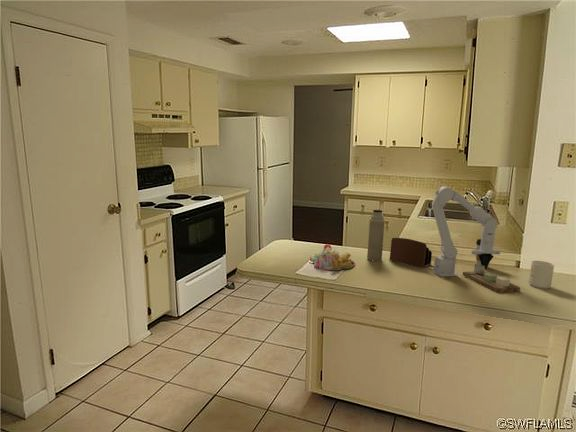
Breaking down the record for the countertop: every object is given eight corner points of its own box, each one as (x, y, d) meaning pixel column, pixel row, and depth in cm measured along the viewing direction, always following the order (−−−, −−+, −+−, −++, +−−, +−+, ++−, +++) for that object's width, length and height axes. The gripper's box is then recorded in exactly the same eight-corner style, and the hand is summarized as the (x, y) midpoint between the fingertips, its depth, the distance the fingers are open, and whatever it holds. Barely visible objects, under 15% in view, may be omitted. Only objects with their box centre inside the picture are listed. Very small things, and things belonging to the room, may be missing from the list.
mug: (554, 290, 182) (558, 266, 180) (534, 288, 183) (537, 265, 181) (540, 281, 194) (543, 259, 192) (521, 280, 194) (524, 258, 193)
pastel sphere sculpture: (362, 265, 212) (363, 248, 210) (337, 274, 195) (338, 256, 193) (324, 256, 228) (325, 240, 227) (298, 263, 211) (299, 246, 209)
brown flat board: (496, 292, 176) (497, 288, 175) (462, 275, 199) (463, 271, 198) (519, 291, 178) (520, 286, 178) (483, 274, 201) (484, 270, 201)
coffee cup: (492, 269, 211) (496, 242, 208) (475, 268, 212) (478, 240, 210) (488, 265, 219) (491, 238, 216) (471, 264, 221) (474, 237, 218)
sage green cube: (489, 283, 186) (489, 276, 185) (483, 280, 190) (484, 273, 189) (496, 283, 187) (497, 275, 186) (490, 280, 191) (491, 273, 190)
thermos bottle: (379, 257, 227) (383, 209, 222) (383, 261, 219) (386, 211, 214) (365, 257, 227) (369, 208, 222) (368, 261, 219) (372, 210, 214)
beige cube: (501, 287, 178) (502, 280, 178) (495, 284, 182) (496, 277, 181) (509, 287, 179) (510, 279, 178) (502, 284, 183) (503, 276, 182)
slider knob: (478, 274, 194) (479, 266, 193) (474, 271, 197) (474, 264, 197) (483, 273, 194) (484, 266, 194) (479, 271, 198) (479, 263, 197)
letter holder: (423, 268, 209) (426, 242, 207) (389, 260, 222) (391, 236, 219) (431, 265, 217) (433, 239, 214) (397, 257, 229) (399, 233, 227)
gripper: (479, 243, 188) (476, 271, 191) (506, 243, 191) (502, 270, 194) (470, 240, 195) (467, 267, 197) (495, 239, 198) (492, 266, 200)
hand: (484, 268), depth 196 cm, fingers closed
